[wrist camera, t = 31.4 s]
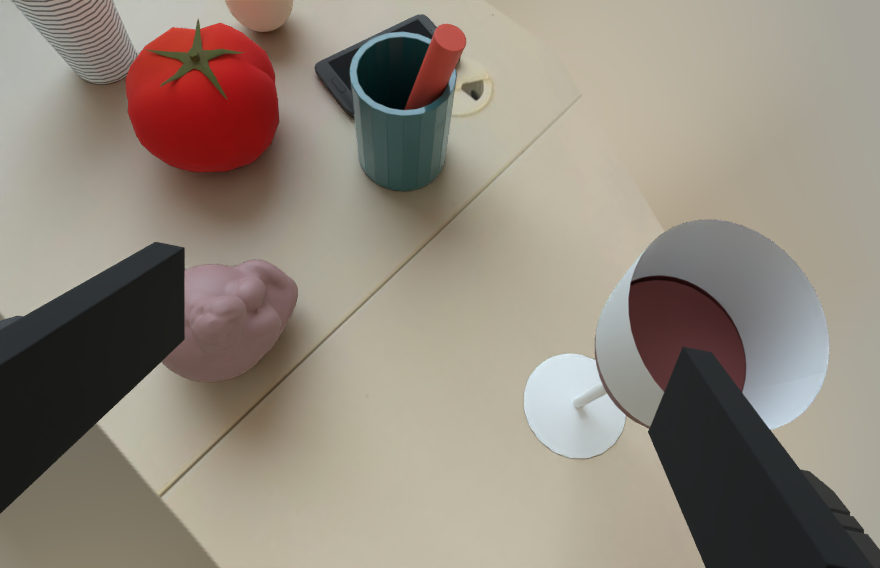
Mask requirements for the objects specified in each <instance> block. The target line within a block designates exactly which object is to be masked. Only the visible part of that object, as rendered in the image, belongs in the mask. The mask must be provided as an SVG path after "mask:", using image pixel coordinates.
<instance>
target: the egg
mask: <svg viewBox="0 0 880 568" xmlns="http://www.w3.org/2000/svg"><path fill="white" fill-rule="evenodd" d="M225 2H226V5H227V7H228V8H229V10H230V12H231V14H232V15H233V16H234V17H235V18H236V19H237V21H239V22H240V23H241V24H242V25H244V26H245V27H247V28H249V29H252V30H254V31H260V32H267V31H272V30H275V29H277V28H279V27H280V26H281V25H283V24H284V23H285V21H286V20H287V18H288V17H289V15H290V13H291V10H292V5H293V0H225Z"/></svg>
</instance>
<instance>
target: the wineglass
mask: <svg viewBox="0 0 880 568" xmlns="http://www.w3.org/2000/svg"><path fill="white" fill-rule="evenodd" d="M682 347H688V348H693V349H698V350H703V351H708V352H712V353H713V354H714V356H715V357H716V358H717V360H718V361H719V362H720V364H721V365H722V366H723V368H724V369H725V370H726V372H727V373H728V374H729V376H730V377H731V378H732V380H733V381H734V382H735V384H736V385H737V386H738V388H739V389H740V390H741V392H742V393H743V394H744V396H745V397H746V398H747V400H748V401H749V402H750V404H751V405H752V406H753V408H754V409H755V410H756V412H757V413H758V414H759V416H760V417H761V418H762V420H763V421H764V422H765V424H766V425H767V426H768V428H769V429H770V430H772V429H775V428H779V427H781V426H783V425H785V424H787V423H789V422H791V421H793V420H794V419H795V418H796V417H798V416H799V415H800V414H802V413H803V412H804V411H805V410H806V409H807V408H808V406H809V405H810V404H811V403H812V402H813V400H814V399H815V397H816V395H817V394H818V392H819V390H820V388H821V386H822V384H823V381H824V378H825V374H826V372H827V366H828V359H829V336H828V329H827V323H826V319H825V316H824V312H823V309H822V306H821V304H820V301H819V299H818V296H817V295H816V292H815V290H814V288H813V287H812V285H811V283H810V282H809V280H808V278H807V277H806V275H805V274H804V273H803V272H802V270H801V269H800V267H799V266H798V265H797V264H796V262H795V261H794V260H793V259H792V258H791V257H790V256H789V255H788V254H787V253H786V252H785V251H784V250H783V249H781V248H780V247H779V246H778V245H776V244H775V243H774V242H772V241H771V240H770V239H768V238H766V237H765V236H763V235H761V234H760V233H758V232H756V231H754V230H751V229H749V228H747V227H745V226H742V225H739V224H735V223H732V222H728V221H720V220H697V221H691V222H686V223H683V224H681V225H678V226H675V227H673V228H671V229H669V230H668V231H666V232H664V233H663V234H661V235H660V236H659V237H658V238H656V239H655V240H654V241H653V242H652V243H651V244H650V245H649V246H648V247H647V248H646V249H645V250H644V251H643V253H642V254H641V255H640V256H639V257H638V258H637V260H636V261H635V262H634V263H633V264H632V266H631V267H630V268H629V270H628V271H627V272H626V274H625V275H624V276H623V278H622V279H621V280H620V281H619V283H618V284H617V285H616V287H615V288H614V290H613V292H612V293H611V295H610V297H609V298H608V300H607V302H606V304H605V306H604V308H603V310H602V312H601V315H600V318H599V321H598V324H597V329H596V335H595V358H596V360H594V359H591V358H588V357H586V356H583V355H580V354H561V355H558V356H554V357H550V358H549V359H547V360H546V361H544V362H543V363H541V364H540V365H538V366H537V367H536V369H535V370H534V372H533V373H532V374H531V376H530V377H529V378H528V382H527V385H526V388H525V392H524V411H525V414H526V417H527V420H528V423H529V426H530V428H531V429H532V430H533V432H534V433H535V435H536V436H537V438H538V439H539V440H540V441H541V442H542V443H543V444H544V445H546V446H547V447H548V448H549V449H551V450H552V451H553V452H556V453H558V454H561V455H563V456H566V457H569V458H584V459H587V458H590V457H593V456H596V455H600V454H602V453H603V452H605V451H606V450H607V449H609V448H610V447H611V446H613V445H614V444H615V442H616V441H617V439H618V437H619V436H620V434H621V433H622V431H623V427H624V423H625V418H626V416H628V417H629V418H630V419H632V420H633V421H635V422H637V423H639V424H641V425H643V426H645V427H647V428H650V426H651V424H652V421H653V419H654V416H655V414H656V411H657V409H658V406H659V404H660V401H661V399H662V396H663V394H664V391H665V389H666V387H667V384H668V382H669V379H670V377H671V374H672V372H673V369H674V367H675V364H676V362H677V359H678V357H679V354H680V352H681V349H682Z"/></svg>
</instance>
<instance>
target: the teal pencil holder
mask: <svg viewBox="0 0 880 568" xmlns="http://www.w3.org/2000/svg"><path fill="white" fill-rule="evenodd" d="M431 40H432V39H430V38H427V37H425V36H422V35H420V34H415V33H408V32H394V33H386V34H383V35H380V36H378V37H375V38H373V39H371V40H369V41H368V42H367V43H365V44H364V45H362V46H361V47H360V48H359V50H358V51H357V52H356V54H355V55H354V57H353V59H352V62H351V66H350V70H349V75H350V84H351V93H352V102H353V111H354V120H355V129H356V138H357V147H358V154H359V161H360V164H361V167H362V169H363V170H364V172H365V174H366V175H367V176H368V177H369V178H370V179H371V180H372V181H374V182H375V183H376V184H378V185H380V186H382V187H384V188H387V189H391V190H395V191H411V190H416V189H419V188H422V187H424V186H426V185H428V184H429V183H431V182H432V181H433V180H434V179H435V178H436V177H437V176H438V175H439V173H440V172H441V170H442V168H443V166H444V162H445V156H446V149H447V142H448V134H449V127H450V120H451V113H452V106H453V98H454V91H455V84H456V77H457V73H456V69H454V71H453V73H452V75H451V77H450V79H449V82H448V84H447V86H446V88H445V90H444V92H443V94H442V95H441V96H440V97H439V98H438V99H437V100H435V101H434V102H433V103H431V104H429V105H426V106H424V107H421V108H419V109H411V110H404V109H405V107H406V104H407V101H408V99H409V96H410V94H411V91H412V89H413V86H414V83H415V81H416V78H417V76H418V73H419V71H420V68H421V65H422V63H423V60H424V58H425V55H426V52H427V50H428V47H429V45H430V42H431Z"/></svg>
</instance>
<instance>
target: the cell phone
mask: <svg viewBox="0 0 880 568" xmlns="http://www.w3.org/2000/svg"><path fill="white" fill-rule="evenodd" d="M436 28H437V27H436V26H435V25H434V24H433V22H432V21H431V20H430V19H429V18H428V17H427V16H425V15H423V14H422V15H416V16H414V17H412V18H410V19H407V20H405V21H403V22H401V23H399V24H397V25H395V26H393V27H391V28H389V29H386V30H384V31H382V32H380V33H378V34H376V35H374V36H372V37H370V38H368V39H366V40H363V41H361V42H359V43H357V44H355V45H353V46H351V47H349V48H347V49H345V50H343V51H340V52H338V53H336V54H334V55H332V56H330V57H328V58H326V59H324V60H322V61H320V62H318V63H317V64H316V65H315V71H316V73H317V75H318V77H319V78H320V79H321V81H322V82H323V83H324V85H325V86H326V87H327V88H328V90H329V91H330V92H331V94H332V95H333V96H334V97H335V99H336V100H337V101H338V102H339V104H340V105H341V106H342V108H343V109H344V110H345V111H346V112H347V113H348V114H349V115H350V116H354V111H353V102H352V93H351V84H350V75H349V70H350V66H351V62H352V59H353V57H354V55H355V54H356V52H357V51H358V50H359V48H360V47H361V46H362V45H364V44H365V43H367V42H368V41H369V40H371V39H373V38H375V37H378V36H380V35H383V34H386V33H394V32H408V33H415V34H420V35H422V36H425V37H427V38H430V39H432V37H433V34H434V32H435V30H436ZM459 61H460V58H459V60H458V62H459ZM458 62H457V63H458Z"/></svg>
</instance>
